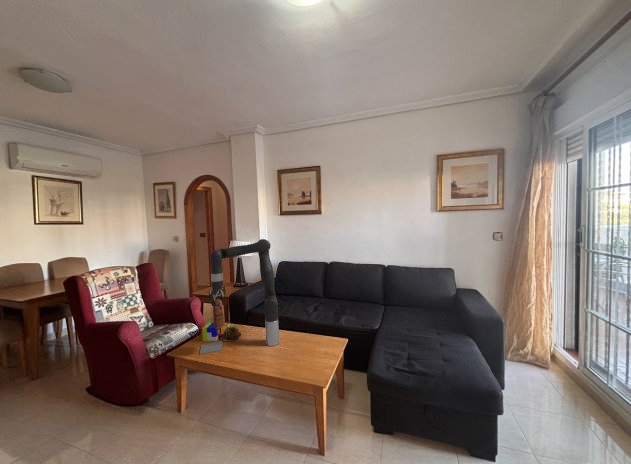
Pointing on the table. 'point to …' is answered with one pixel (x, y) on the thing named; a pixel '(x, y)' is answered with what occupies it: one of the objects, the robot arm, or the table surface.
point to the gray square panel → (211, 348)
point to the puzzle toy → (210, 332)
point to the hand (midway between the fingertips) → (217, 303)
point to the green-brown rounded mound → (230, 333)
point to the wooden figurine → (218, 314)
